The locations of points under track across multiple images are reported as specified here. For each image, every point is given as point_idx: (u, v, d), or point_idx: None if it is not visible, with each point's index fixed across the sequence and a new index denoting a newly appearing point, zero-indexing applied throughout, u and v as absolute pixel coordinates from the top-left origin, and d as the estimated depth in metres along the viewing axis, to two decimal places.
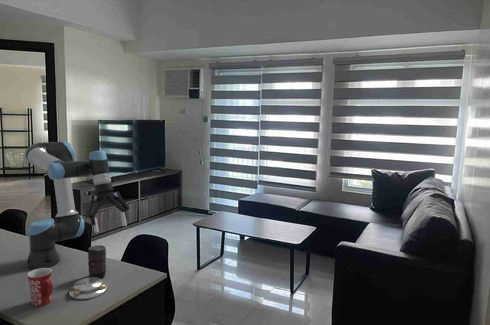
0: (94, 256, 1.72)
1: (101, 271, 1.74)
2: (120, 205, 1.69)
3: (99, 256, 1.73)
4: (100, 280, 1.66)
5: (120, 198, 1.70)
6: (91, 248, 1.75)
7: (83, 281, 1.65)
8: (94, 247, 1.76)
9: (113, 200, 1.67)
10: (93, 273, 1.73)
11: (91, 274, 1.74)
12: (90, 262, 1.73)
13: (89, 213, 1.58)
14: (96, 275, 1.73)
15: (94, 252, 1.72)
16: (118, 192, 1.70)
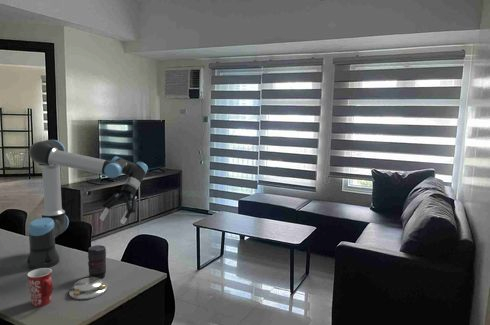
0: (94, 256, 1.72)
1: (101, 271, 1.74)
2: None
3: (99, 256, 1.73)
4: (100, 280, 1.66)
5: (114, 199, 1.94)
6: (91, 248, 1.75)
7: (83, 281, 1.65)
8: (94, 247, 1.76)
9: (120, 201, 1.93)
10: (93, 273, 1.73)
11: (91, 274, 1.74)
12: (90, 262, 1.73)
13: None
14: (96, 275, 1.73)
15: (94, 252, 1.72)
16: None
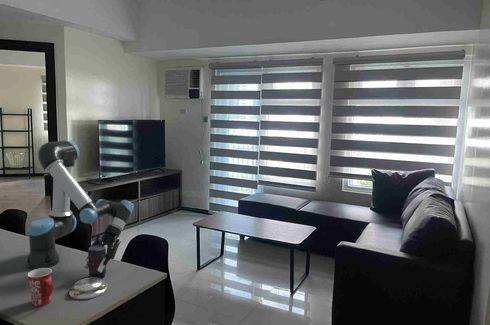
0: (94, 255, 1.72)
1: None
2: None
3: (99, 256, 1.73)
4: (100, 280, 1.66)
5: (98, 243, 1.84)
6: (91, 248, 1.75)
7: (83, 281, 1.65)
8: (94, 247, 1.76)
9: (105, 244, 1.83)
10: (93, 273, 1.73)
11: (91, 274, 1.74)
12: (90, 262, 1.73)
13: None
14: (96, 275, 1.73)
15: (94, 252, 1.72)
16: None
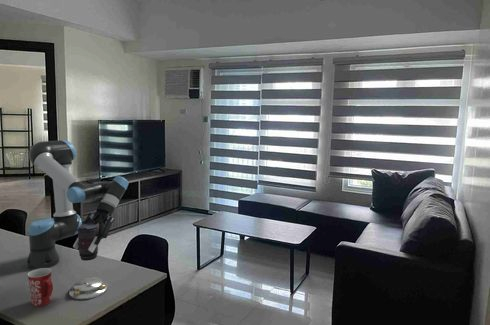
0: (84, 234, 1.56)
1: (93, 252, 1.59)
2: None
3: (90, 234, 1.57)
4: (100, 280, 1.66)
5: (89, 221, 1.69)
6: (81, 226, 1.59)
7: (83, 281, 1.65)
8: (85, 225, 1.61)
9: None
10: (84, 253, 1.58)
11: (81, 254, 1.58)
12: (80, 241, 1.58)
13: None
14: (87, 256, 1.58)
15: (85, 230, 1.56)
16: None
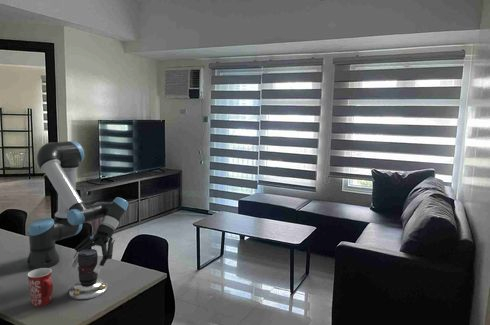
0: (84, 260, 1.57)
1: (92, 277, 1.60)
2: None
3: (90, 260, 1.58)
4: (100, 280, 1.66)
5: (89, 241, 1.70)
6: (81, 252, 1.60)
7: None
8: (85, 251, 1.62)
9: None
10: (83, 279, 1.59)
11: (81, 280, 1.59)
12: (80, 267, 1.59)
13: None
14: (86, 282, 1.59)
15: (84, 257, 1.57)
16: None
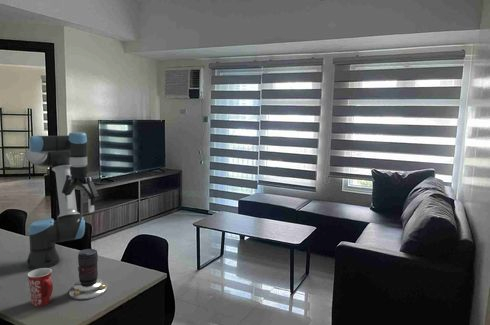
0: (84, 260, 1.58)
1: (92, 277, 1.60)
2: None
3: (90, 260, 1.58)
4: (100, 280, 1.66)
5: (70, 181, 1.71)
6: (81, 252, 1.61)
7: None
8: (85, 251, 1.62)
9: None
10: (83, 279, 1.59)
11: (81, 280, 1.59)
12: (80, 267, 1.59)
13: None
14: (87, 282, 1.59)
15: (84, 256, 1.58)
16: (71, 175, 1.71)
